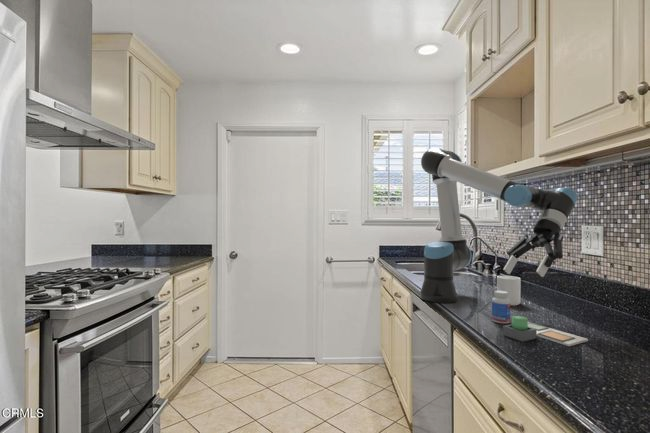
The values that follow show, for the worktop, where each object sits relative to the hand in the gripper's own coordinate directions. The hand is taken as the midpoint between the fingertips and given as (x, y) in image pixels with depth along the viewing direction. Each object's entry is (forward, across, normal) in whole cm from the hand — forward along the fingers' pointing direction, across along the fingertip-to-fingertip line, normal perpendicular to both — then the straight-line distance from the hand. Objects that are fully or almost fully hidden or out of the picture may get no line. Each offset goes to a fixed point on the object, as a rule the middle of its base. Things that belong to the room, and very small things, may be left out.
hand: (522, 273), depth 116 cm
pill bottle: (+18, +1, -3) cm, 18 cm away
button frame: (+22, -12, 0) cm, 25 cm away
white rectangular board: (+16, -12, -7) cm, 21 cm away
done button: (+21, -12, +2) cm, 24 cm away
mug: (+1, +22, -19) cm, 29 cm away
